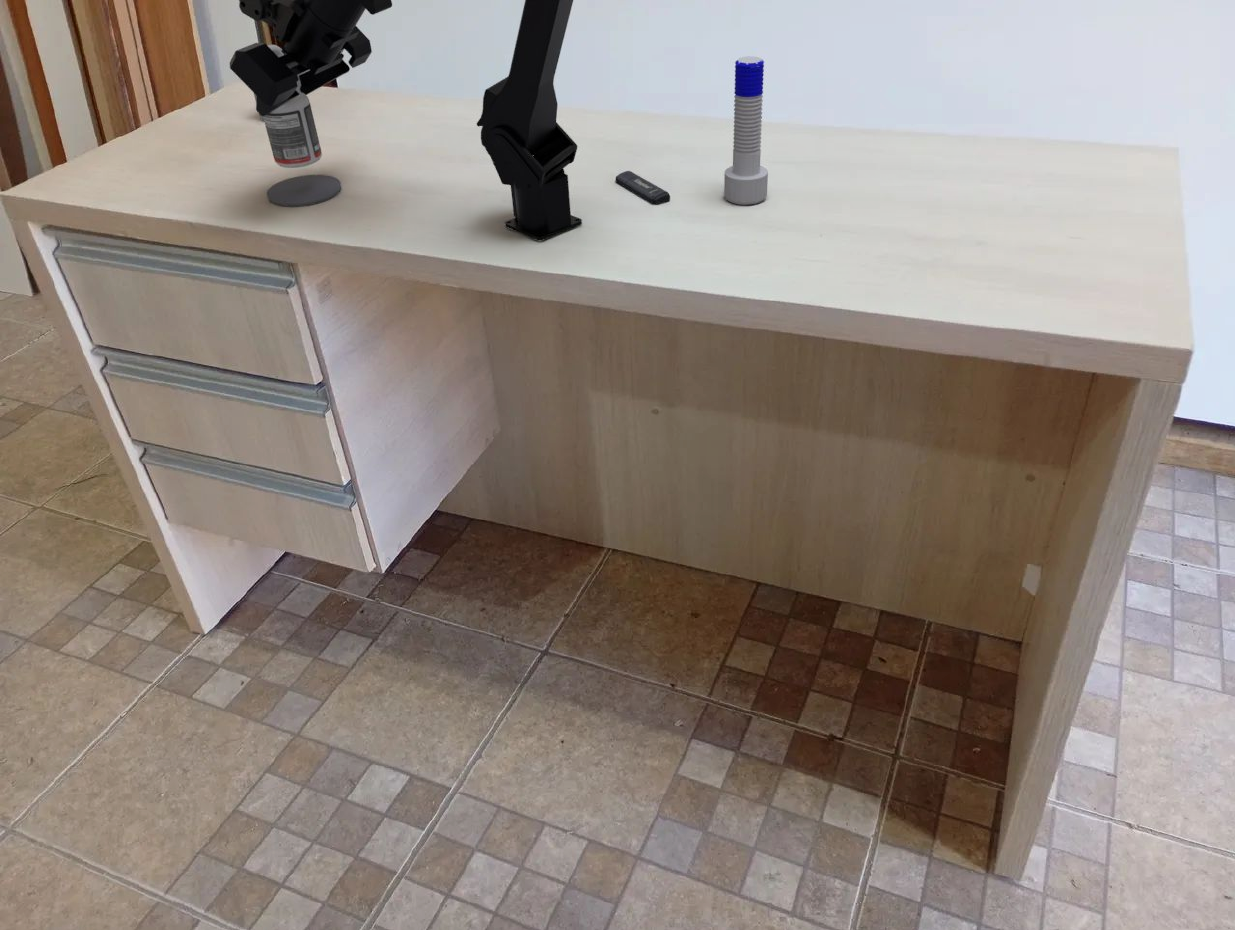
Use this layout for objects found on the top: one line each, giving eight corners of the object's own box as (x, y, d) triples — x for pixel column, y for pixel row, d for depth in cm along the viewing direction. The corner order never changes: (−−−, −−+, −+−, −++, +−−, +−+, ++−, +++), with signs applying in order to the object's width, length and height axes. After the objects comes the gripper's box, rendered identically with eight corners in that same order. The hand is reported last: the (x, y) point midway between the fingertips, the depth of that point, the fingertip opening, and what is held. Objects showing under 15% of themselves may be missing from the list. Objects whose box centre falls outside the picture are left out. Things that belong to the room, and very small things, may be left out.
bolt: (770, 191, 122) (761, 207, 118) (729, 188, 123) (719, 204, 119) (777, 54, 112) (767, 67, 108) (732, 52, 114) (721, 65, 110)
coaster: (355, 190, 128) (354, 186, 127) (290, 212, 123) (289, 208, 123) (318, 173, 133) (317, 169, 133) (255, 194, 128) (253, 189, 128)
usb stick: (613, 185, 127) (613, 172, 126) (632, 180, 128) (631, 168, 127) (653, 209, 120) (653, 196, 119) (672, 204, 121) (672, 191, 120)
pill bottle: (299, 150, 129) (279, 68, 123) (332, 156, 126) (314, 73, 120) (265, 165, 125) (243, 82, 119) (299, 172, 122) (278, 87, 117)
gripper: (329, -65, 117) (276, 33, 128) (217, -31, 104) (169, 75, 114) (399, 11, 119) (342, 101, 129) (299, 54, 105) (244, 151, 116)
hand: (276, 105), depth 122 cm, fingers closed on pill bottle, 6 cm apart
